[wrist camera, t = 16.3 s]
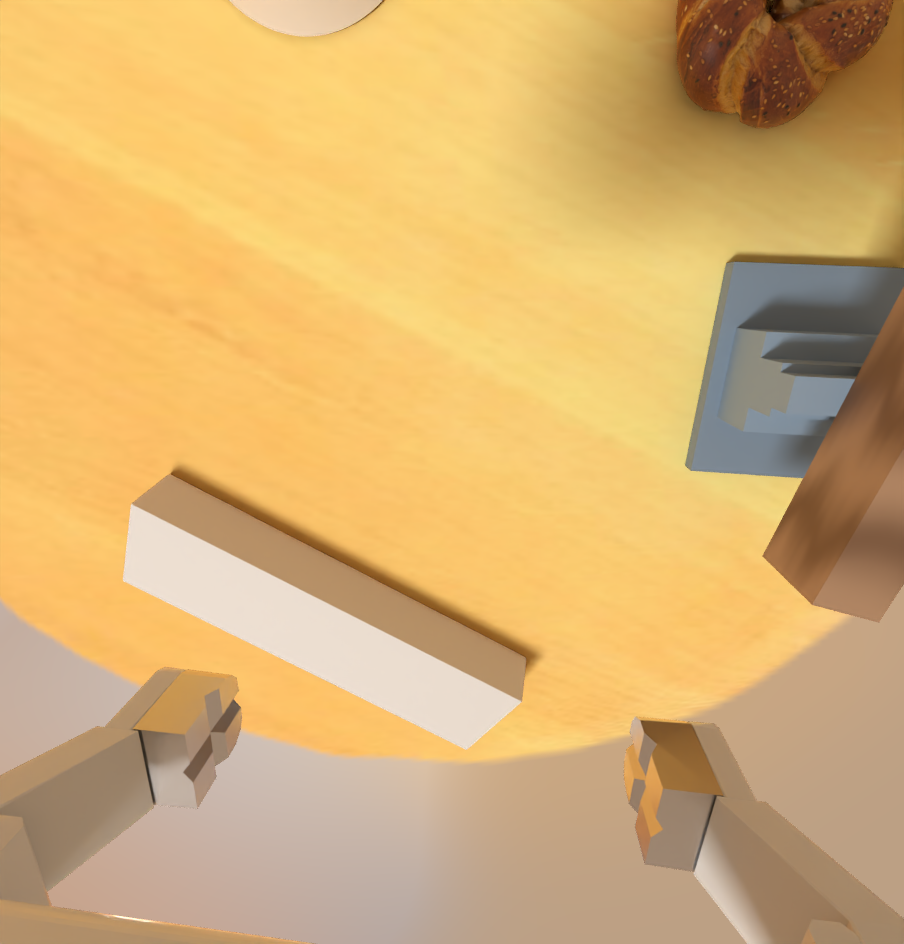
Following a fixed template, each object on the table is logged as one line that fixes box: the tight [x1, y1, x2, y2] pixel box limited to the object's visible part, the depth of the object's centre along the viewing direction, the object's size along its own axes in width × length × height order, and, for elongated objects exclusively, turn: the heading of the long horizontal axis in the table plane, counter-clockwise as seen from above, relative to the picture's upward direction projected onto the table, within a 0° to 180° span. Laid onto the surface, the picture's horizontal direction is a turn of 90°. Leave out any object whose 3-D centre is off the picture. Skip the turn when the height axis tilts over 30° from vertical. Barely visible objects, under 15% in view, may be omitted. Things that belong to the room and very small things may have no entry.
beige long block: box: [123, 474, 526, 750], centre depth 44 cm, size 34×5×10 cm
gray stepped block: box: [685, 262, 904, 478], centre depth 31 cm, size 14×11×9 cm
